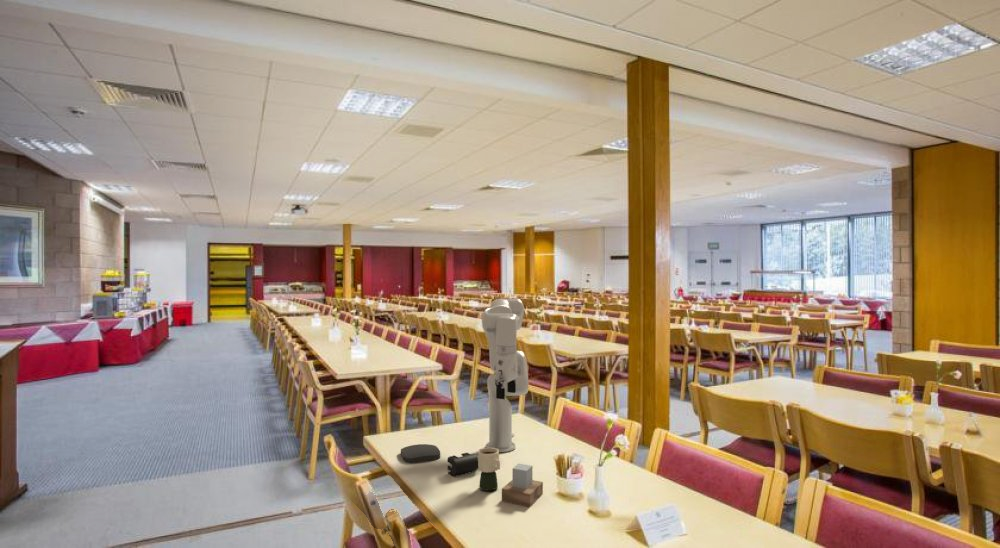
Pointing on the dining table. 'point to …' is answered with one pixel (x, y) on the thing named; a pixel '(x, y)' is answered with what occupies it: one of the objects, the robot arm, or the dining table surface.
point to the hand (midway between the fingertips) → (506, 395)
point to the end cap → (462, 464)
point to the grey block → (522, 476)
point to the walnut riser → (522, 493)
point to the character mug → (488, 467)
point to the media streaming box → (420, 453)
